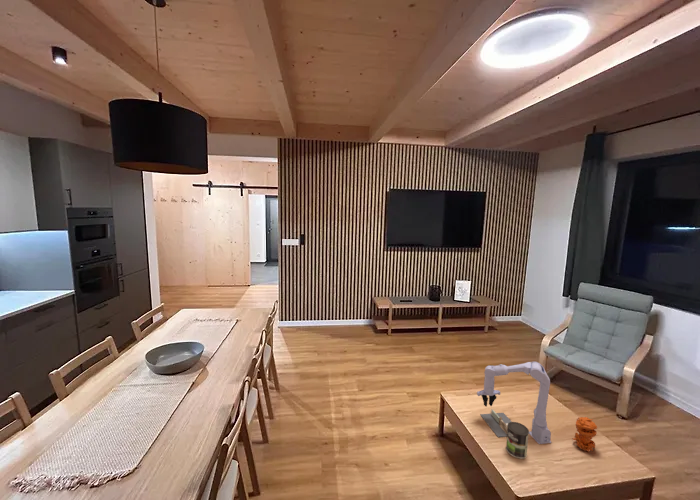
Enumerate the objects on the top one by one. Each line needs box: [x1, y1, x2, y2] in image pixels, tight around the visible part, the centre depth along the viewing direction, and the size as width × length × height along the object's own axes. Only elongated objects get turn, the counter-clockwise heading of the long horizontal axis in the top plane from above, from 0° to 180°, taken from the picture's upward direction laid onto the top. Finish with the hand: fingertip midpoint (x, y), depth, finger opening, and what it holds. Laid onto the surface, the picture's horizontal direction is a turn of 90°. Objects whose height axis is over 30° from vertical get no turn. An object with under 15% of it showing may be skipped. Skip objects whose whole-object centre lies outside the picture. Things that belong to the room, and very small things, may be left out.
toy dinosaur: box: [572, 416, 598, 452], centre depth 170 cm, size 11×11×18 cm
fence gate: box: [490, 408, 499, 423], centre depth 194 cm, size 9×1×4 cm, turn 6°
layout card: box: [480, 412, 513, 438], centre depth 190 cm, size 20×16×1 cm
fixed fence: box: [499, 417, 508, 433], centre depth 184 cm, size 10×2×5 cm, turn 6°
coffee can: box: [505, 421, 530, 460], centre depth 168 cm, size 10×10×14 cm
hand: (487, 405), depth 192 cm, fingers open, 3 cm apart
